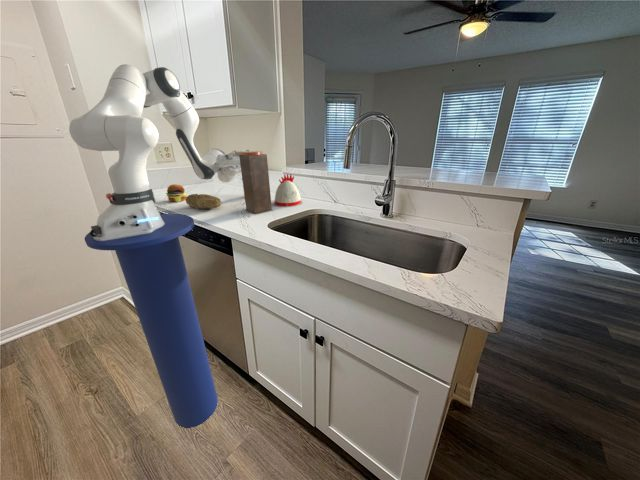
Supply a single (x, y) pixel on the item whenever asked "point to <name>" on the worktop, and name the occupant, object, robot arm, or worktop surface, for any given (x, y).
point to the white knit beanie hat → (287, 193)
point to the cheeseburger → (176, 193)
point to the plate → (250, 152)
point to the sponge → (203, 201)
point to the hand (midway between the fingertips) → (242, 151)
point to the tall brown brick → (256, 182)
